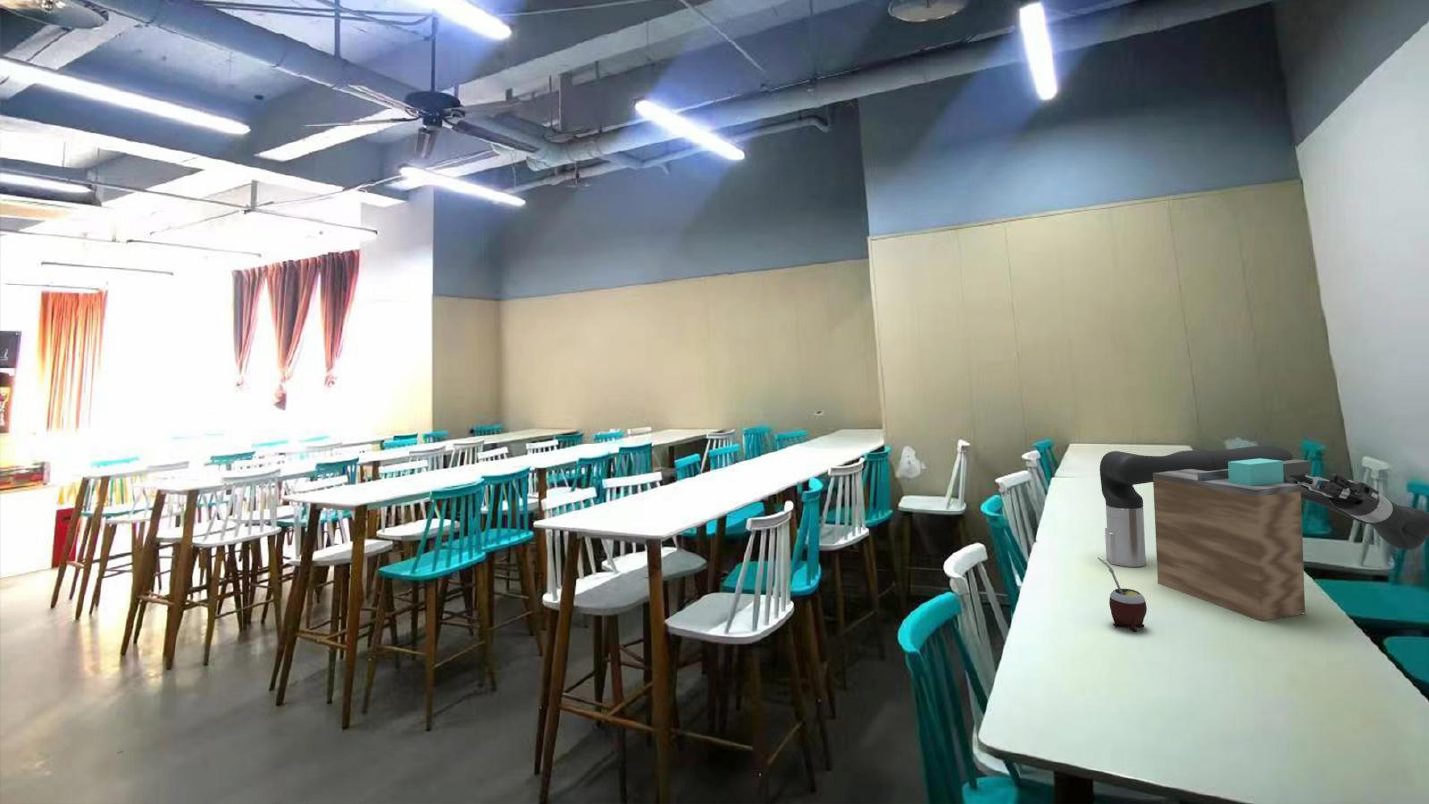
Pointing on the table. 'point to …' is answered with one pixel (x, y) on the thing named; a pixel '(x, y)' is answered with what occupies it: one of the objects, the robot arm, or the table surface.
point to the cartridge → (1265, 471)
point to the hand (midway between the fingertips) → (1311, 475)
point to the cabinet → (1230, 542)
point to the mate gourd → (1126, 606)
